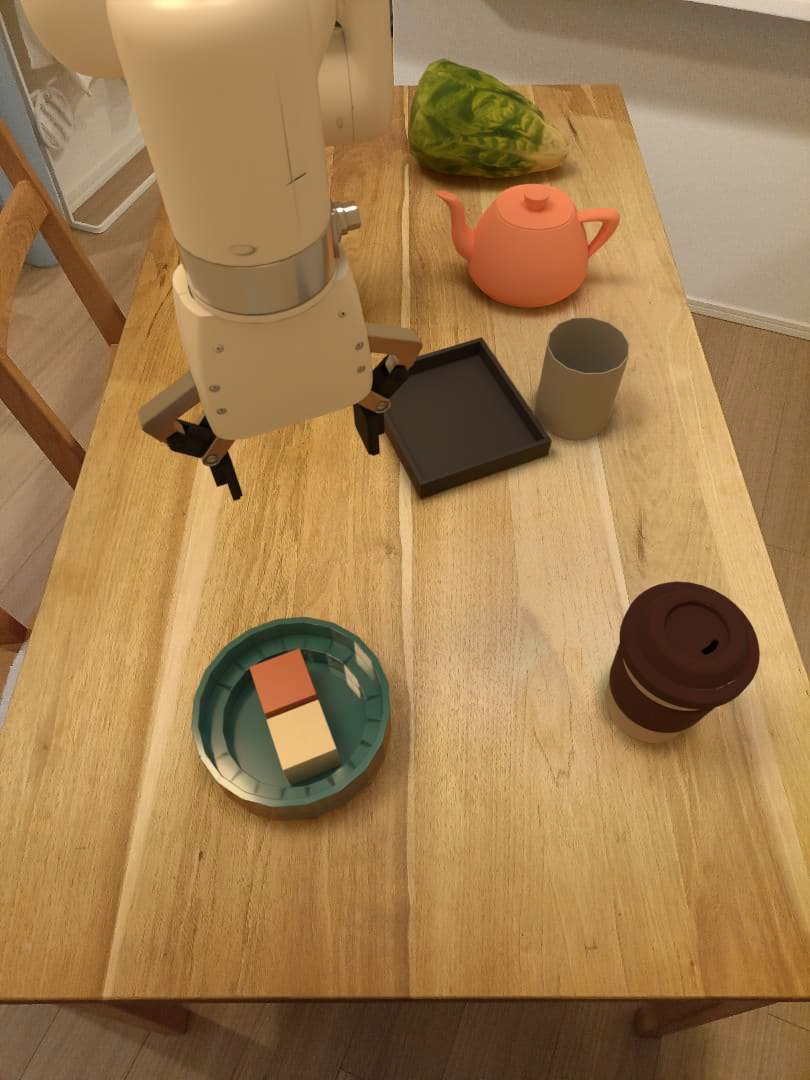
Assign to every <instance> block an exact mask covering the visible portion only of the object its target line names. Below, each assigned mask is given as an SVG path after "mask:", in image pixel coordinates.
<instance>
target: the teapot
mask: <svg viewBox="0 0 810 1080" xmlns="http://www.w3.org/2000/svg"><path fill="white" fill-rule="evenodd" d="M435 195H436V196H437V197H438V198H440V199H442V201H443V202H444V203H445V204H446V205H447V207H448V209H449V212H450V225H451V226H450V231H451V239H452V245H453V246H454V249H455V251H456V252H457V254H458V255H459V256H460V257H461V258H462V259H464V260H466V263H467V268H468V269H467V270H468V271H469V275H470V277H471V279H472V281H473V282H474V284H475V285H476V286H477V287H478V288H479V289H480V290H481V291H482V292H483V293H484V294H485V295H486V296H488V297H489V298H491V299H492V300H494V301H495V302H497V303H501V304H503V305H507V306H511V307H517V308H527V309H528V308H542V307H547V306H551V305H553V304H555V303H559V302H561V301H562V300H564V299H566V298H567V297H569V296H570V295H571V294H574V292H576V291H577V290H578V289H579V288H580V286H581V285H582V283H583V282H584V280H585V279H586V276H587V272H588V267H589V260H590V259H591V258H592V256H594V255H595V254H596V253H597V252H598V251H599V250H600V249H601V248H602V247H603V246H604V245H605V244H606V243H607V242H608V241H609V240H610V239H611V238H612V236H613V235H614V233H615V232H616V230H617V228H618V227H619V224H620V221H621V215H620V213H619V212H618V211H617V210H616V209H614V208H610V207H597V208H591V209H585V210H578V208H577V207H576V204H575V203H574V201H573V199H572V198H571V197H570V195H569V194H567V193H565V192H564V191H562V190H561V189H559V188H556V187H554V186H551V185H547V184H540V183H539V184H538V183H524V184H517V185H514V186H511V187H509V188H507V189H505V190H503V191H502V192H501V193H500V194H498V196H497V197H495V199H494V200H493V201H492V202H491V203H490V204H489V206H488V207H487V208H486V209H485V210H484V212H483V213H482V215H481V216H480V218H479V219H478V221H477V224H476V225H475V228H474V230H473V229H472V228H470V227H469V226H468V225H467V223H466V219H465V218H466V217H465V207H464V204H463V202H462V200H461V198H460V197H459V196H457V195H456V194H454V193H451V192H450V191H446V190H436V191H435ZM592 222H599V223H600V222H601V223H602V224H601V227H600V228H599V230H598V232H597V234H596V235H595V236H594V238H593V239H592V240H591V242H589V241H588V236H587V231H586V228H585V225H584V224H585V223H592Z"/></svg>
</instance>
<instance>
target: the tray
mask: <svg viewBox="0 0 810 1080" xmlns="http://www.w3.org/2000/svg"><path fill="white" fill-rule="evenodd" d="M372 371H373V369H372ZM408 373H409V377H408V379H407V380H406V381H405V382H404V384H403V385H402V386H401V387H400V388H399V389H398V390H397V391H396V392H395V393H394V394H393V395H392V396H391V397H390V399H389V401H390V403H391V406H390V408H389V409H388V410H387V411H385V412H384V427H385V433H384V434H385V435H386V437H387V439H388V440H389V443H390V444H391V447H392V448H393V450H394V452H395V454H396V456H397V458H398V460H399V462H400V464H401V465H402V467H403V469H404V471H405V473H406V475H407V477H408V478H409V480H410V482H411V484H412V486H413V488H414V490H415V492H416V494H417V496H418V497H419V499H420V500H421V499H426V498H428V497H430V496H434V495H436V494H439V493H442V492H446V491H449V490H452V489H453V488H457V487H460V486H463V485H466V484H468V483H472V482H475V481H477V480H480V479H483V478H486V477H490V476H492V475H495V474H497V473H501V472H504V471H507V470H510V469H513V468H516V467H518V466H522V465H524V464H527V463H530V462H533V461H536V460H538V459H539V460H540V459H542V458H545V457H547V456H550V450H551V447H552V441H553V440H552V439H551V437H550V435H549V434H548V433H547V430H546V429H545V428H543V427H542V425H541V424H540V422H539V421H538V419H537V417H536V415H535V413H534V412H533V411H532V408H531V407H530V406H529V404H528V403H527V401H526V400H525V398H524V397H523V395H522V394H521V392H520V391H519V390H518V388H517V387H516V385H515V383H514V382H513V381H512V379H511V378H510V376H509V375H508V373H507V371H506V370H505V369H504V367H503V366H502V364H501V363H500V361H499V360H498V358H496V356H495V354H494V353H493V351H492V350H491V348H490V347H489V346H488V343H486V341H485V339H484V338H483V337H482V336H481V337H478V338H474V339H470V340H467V341H464V342H461V343H458V344H454V345H451V346H448V347H445V348H441V349H438V350H435V351H431V352H428V353H424V354H421V355H418V357H417V358H416V360H415V362H414V364H413V366H412V367H410V368H409V370H408Z"/></svg>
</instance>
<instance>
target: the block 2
mask: <svg viewBox="0 0 810 1080" xmlns="http://www.w3.org/2000/svg"><path fill="white" fill-rule="evenodd" d="M267 724H268V727H269V730H270V733H271V736H272V739H273V742H274V745H275V748H276V751H277V755H278V758H279V761H280V764H281V767H282V770H283V772H284V774H285V776H286V778H287V780H288V782H289V784H290V785H294V784H296V783H299V782H301V781H304V780H306V779H309V778H311V777H313V776H316V775H318V774H321V773H323V772H326V771H328V770H331V769H333V768H335V767H338V766H340V765H341V763H340V759H339V756H338V752H337V748H336V746H335V743H334V740H333V738H332V735H331V732H330V729H329V727H328V724H327V721H326V719H325V716H324V713H323V710H322V708H321V705H320V702H319V700H316V701H313V702H311V703H308V704H306V705H303V706H300V707H298V708H295V709H293V710H290V711H288V712H285V713H282V714H280V715H277V716H275V717H272V718H270V719H267Z"/></svg>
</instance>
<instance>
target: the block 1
mask: <svg viewBox="0 0 810 1080" xmlns="http://www.w3.org/2000/svg"><path fill="white" fill-rule="evenodd" d="M249 668H250V672H251V675H252V678H253V681H254V684H255V687H256V690H257V693H258V696H259V699H260V702H261V705H262V708H263V711H264V714H265V716H266V718H267V719H270V718H272V717H275V716H277V715H280V714H282V713H285V712H288V711H290V710H293V709H295V708H298V707H300V706H303V705H306V704H308V703H311V702H313V701H316V700H318V698H317V694H316V691H315V689H314V686H313V683H312V681H311V678H310V675H309V673H308V670H307V667H306V664H305V662H304V659H303V656H302V654H301V651H300V649H297V650H294V651H291V652H288V653H286V654H283V655H280V656H278V657H275V658H272V659H270V660H267V661H264V662H262V663H259V664H256V665H254V666H251V667H249Z"/></svg>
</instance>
